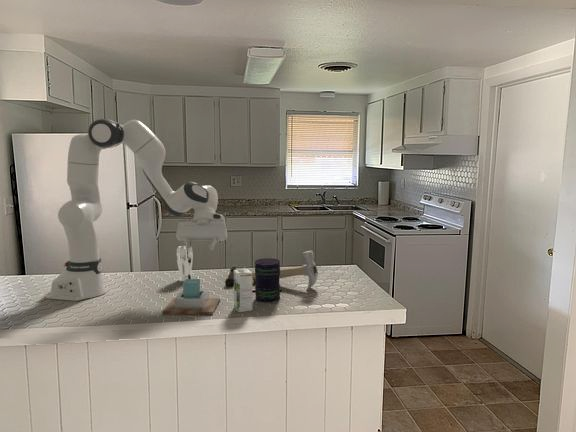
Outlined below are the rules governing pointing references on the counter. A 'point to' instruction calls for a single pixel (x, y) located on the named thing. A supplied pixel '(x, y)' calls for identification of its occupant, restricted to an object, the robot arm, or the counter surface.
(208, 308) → the walnut board
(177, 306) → the socket
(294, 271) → the hammer
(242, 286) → the syrup box
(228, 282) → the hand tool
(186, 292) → the teal peg
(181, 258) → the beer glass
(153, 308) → the counter surface
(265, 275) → the storage jar
